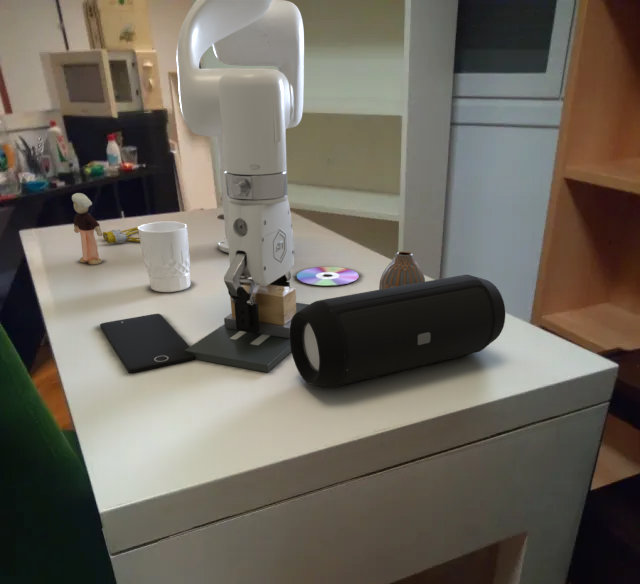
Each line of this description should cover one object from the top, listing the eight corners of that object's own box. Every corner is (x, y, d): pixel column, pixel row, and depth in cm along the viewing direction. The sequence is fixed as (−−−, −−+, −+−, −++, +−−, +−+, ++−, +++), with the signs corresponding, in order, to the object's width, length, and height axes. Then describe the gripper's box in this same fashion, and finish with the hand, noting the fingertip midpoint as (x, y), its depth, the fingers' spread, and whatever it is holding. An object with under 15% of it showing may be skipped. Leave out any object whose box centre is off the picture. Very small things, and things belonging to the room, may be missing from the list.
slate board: (263, 303, 94) (263, 297, 93) (334, 313, 90) (334, 307, 89) (185, 357, 77) (184, 349, 76) (267, 372, 72) (267, 364, 72)
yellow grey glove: (105, 233, 136) (104, 224, 135) (175, 229, 139) (174, 220, 138) (101, 246, 125) (99, 236, 124) (177, 241, 129) (176, 232, 128)
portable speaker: (324, 407, 65) (324, 320, 60) (287, 372, 73) (284, 293, 67) (503, 361, 75) (516, 283, 70) (454, 334, 82) (463, 263, 77)
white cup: (183, 295, 98) (175, 233, 93) (139, 292, 99) (128, 231, 94) (201, 280, 104) (194, 222, 99) (159, 278, 106) (150, 220, 101)
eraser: (224, 328, 82) (221, 289, 79) (242, 316, 86) (239, 279, 83) (289, 338, 79) (288, 298, 76) (305, 325, 83) (304, 287, 80)
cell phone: (130, 377, 73) (128, 370, 72) (100, 329, 86) (99, 323, 86) (199, 362, 76) (198, 355, 76) (160, 318, 90) (159, 312, 89)
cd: (372, 277, 105) (372, 276, 105) (323, 290, 99) (323, 289, 99) (331, 263, 113) (331, 263, 113) (283, 274, 107) (283, 274, 107)
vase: (427, 305, 93) (432, 249, 88) (418, 321, 87) (423, 261, 82) (384, 301, 94) (386, 245, 90) (373, 316, 89) (375, 257, 84)
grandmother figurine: (70, 262, 115) (54, 193, 108) (84, 257, 118) (69, 190, 111) (102, 266, 112) (88, 196, 106) (115, 261, 115) (102, 192, 109)
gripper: (250, 201, 65) (259, 346, 74) (312, 178, 79) (314, 303, 88) (192, 197, 68) (207, 337, 77) (262, 175, 81) (269, 296, 90)
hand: (264, 319), depth 82 cm, fingers open, 9 cm apart
